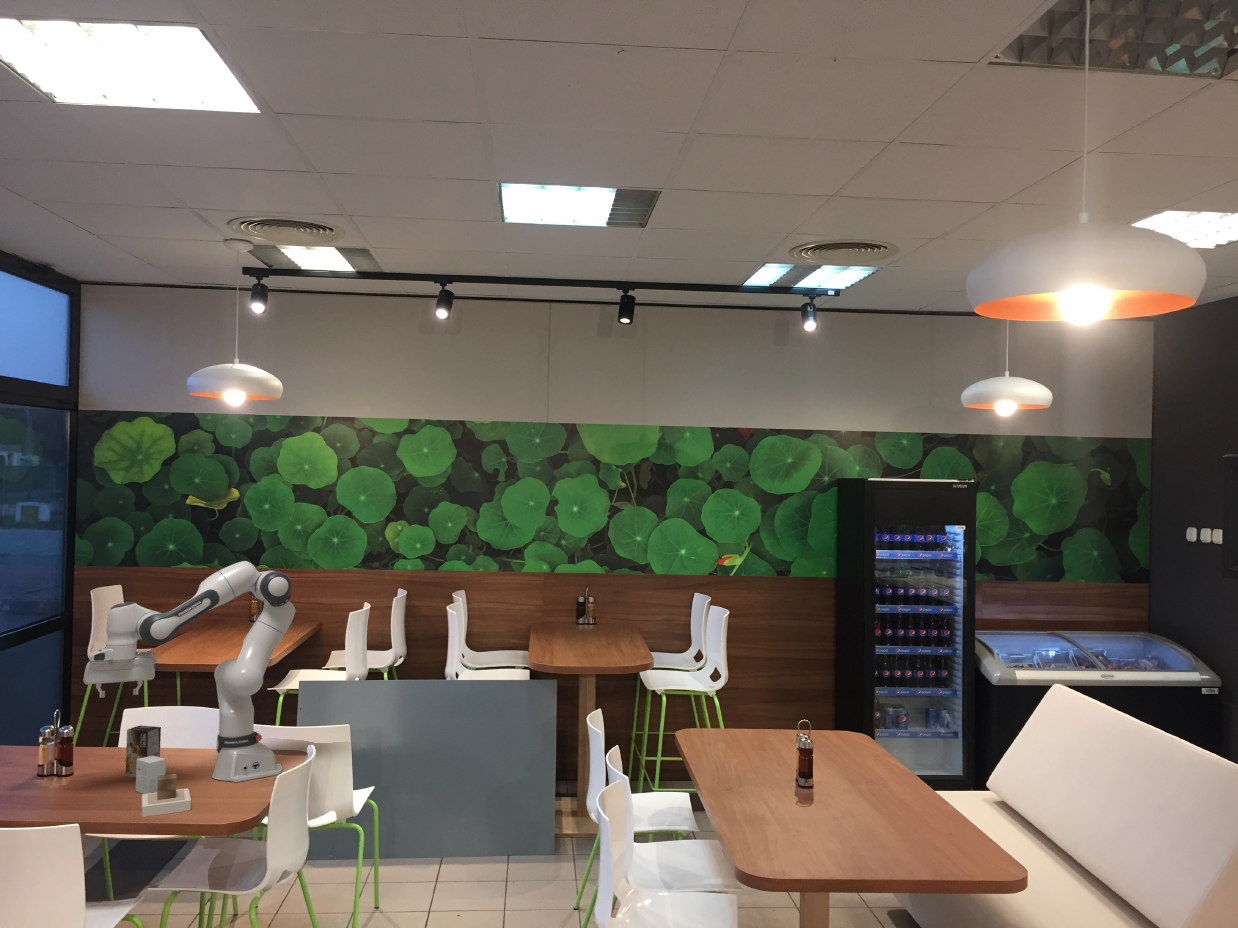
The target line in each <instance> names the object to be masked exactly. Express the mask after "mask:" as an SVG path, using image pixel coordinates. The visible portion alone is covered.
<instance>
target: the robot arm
mask: <svg viewBox="0 0 1238 928" xmlns="http://www.w3.org/2000/svg"><path fill="white" fill-rule="evenodd" d="M291 591H292V581H291V579H290V577H289V576H288V575H287V574H285V573H284V572H282V571H278V570H267V571H258V569H257V568H256V566H255V565H254V564H253V563H251V562H250V561H247V560H242V561H238V562H236V563H233V564H231V565H229V566H226V567H224V568H221V569H220V570H217V571H215V572H214V573H212V574H211V575H209V576H208V577H206V578H205V579H204V580H202V582H200V584H199V586H198V588H197V592H196V593H195V594H194V596H193V597H191V598H190V599H188V600H187V601H185V602H183V603H182V604H180V605H179V606H177V607H175V608H173V609H171V610H169V611H167V612H163V613H162V612H159V611H156V610H154V609H153V610H152V609H148V608H146V607H143V606H141V605H139V604H137V602H134V601H127V602H126V601H125V602H121V603H117V604H115V605H113V606H112V607H111V608H109V611H108V614H107V618H106V619H107V621H106V636H107V638H106V642H105V647H104V648H102V649H98V650H95V651H92V652H91V653H89V656H88V658H89V659H88V660H89V661H88V662H87V664H86V667H85V669H84V674H83V683H84V684H85V685H95V688H96V690H97V692H99V699H101V698H105V697H106V690H102V688H101V687H102V684H111V683H112V684H113V683H125V682H137V686H136V688H133V689H132V691H133V692H132V695H133V696H138V695H139V690H140V688H141V687H142V685H143V681H152V680H153V679H154V678H155V677H156V676H155V675H156V672H155V671H156V669H155V664H156V663H157V660H158V658H157V654H156V653H155V652H152V651H151V650H150V651H137V646H138V645H137V644H138V643H137V642H138V640H143V642H144V643H145V644H147V645H150V646H162V645H164V644H167V643H168V642H169V641H171V640H172V638H174V636H175V635H176V633H177V632H178V631H179V630H180V629H182V627H183V626H185V625H188V623H190V622H192V621H194V620H195V619H197V618H199V617H200V616H202V615H203V614H205V613H206V612H208V611H210V610H213V609H214V608H217V607H220V606H222V605H224V604H226V603H228V602H230V601H233V600H234V599H236V598H237V597H239V596H240V595H243V594H246V593H249V595H251V596H252V597H253V598H254V599H255V600H256V599H257V600H258V601H261V602H263V608H262V611H261V613H260V614H259V616H258V617H257V618H256V620H255V621H254V623H253V624H252V626H251V628H250V629H249V631H248V632H247V634H246V635H245V636H244V638H243V640H242V641H243V642H242V646H241V650H240V652H239V654H238V657H237V658H229V659H225V660H223V661H221V662H220V663H219V664H217V666H216V667H215V669H214V672H213V673H214V674H213V675H214V681H215V683H216V684H215V685H216V692H217V693H216V694H217V695H216V696H217V701H218V709H219V719H218V721H219V723H218V734H217V739H216V751H217V754H216V761H215V765H214V769H213V772H212V775H211V778H213V779H214V780H217V781H227V782H232V783H239V782H244V781H250V780H255V779H261V778H266V777H272V776H278V775H280V774H281V773H282V772H283V766H282V765H281V764H280V763H278V762H277V759H276V755H275V753H274V751H273V750H272V749H271V748H269V747H267V746H265V744H262V743H261V742H260V741H262V739H263V735H261V734H260V733H259V732H258V731H255V730H254V722H255V719H254V717H255V707H254V704H253V701H252V695H255V694H256V693H257V692H258V691H259V690H260V689H261V688H262V687H263V683H264V675H265V672H266V670H267V667H268V666H269V663H270V660H271V657H272V656H273V654H274V652H275V651H276V649H277V647H279V644H280V643H281V641H282V639H283V638H284V636H285V635H286V633H287V631H288V630H289V628H290V626H291V624H292V621H293V620H294V617H295V614H296V608H295V605H294V603H292V602H291V601H290V600H291Z"/></svg>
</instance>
